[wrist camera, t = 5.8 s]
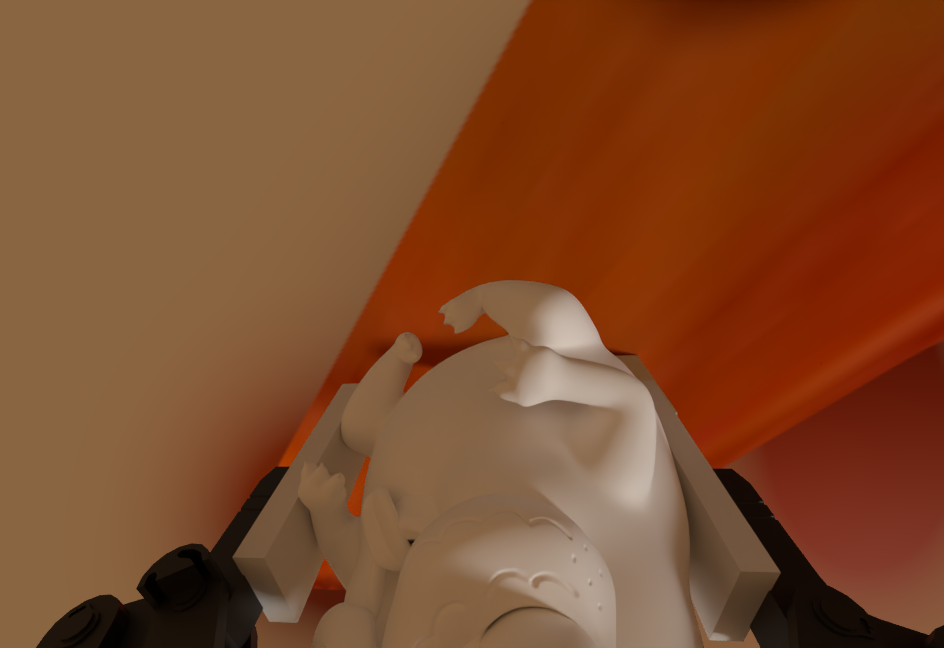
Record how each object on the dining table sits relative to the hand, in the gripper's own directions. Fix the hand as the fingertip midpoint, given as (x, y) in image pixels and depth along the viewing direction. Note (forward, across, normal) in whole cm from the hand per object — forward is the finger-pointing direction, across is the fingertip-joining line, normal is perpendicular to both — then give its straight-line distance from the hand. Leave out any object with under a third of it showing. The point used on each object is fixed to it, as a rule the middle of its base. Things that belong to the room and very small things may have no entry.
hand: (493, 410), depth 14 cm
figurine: (+2, 0, 0) cm, 2 cm away
